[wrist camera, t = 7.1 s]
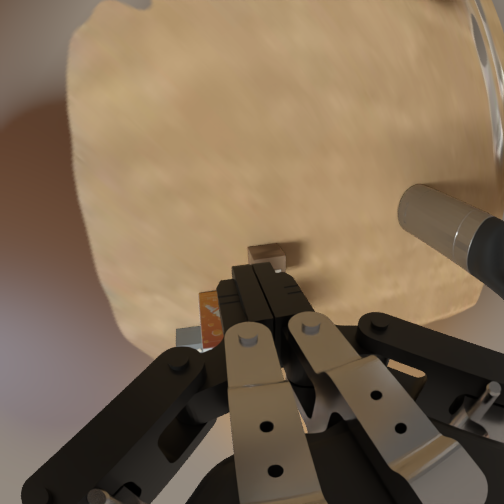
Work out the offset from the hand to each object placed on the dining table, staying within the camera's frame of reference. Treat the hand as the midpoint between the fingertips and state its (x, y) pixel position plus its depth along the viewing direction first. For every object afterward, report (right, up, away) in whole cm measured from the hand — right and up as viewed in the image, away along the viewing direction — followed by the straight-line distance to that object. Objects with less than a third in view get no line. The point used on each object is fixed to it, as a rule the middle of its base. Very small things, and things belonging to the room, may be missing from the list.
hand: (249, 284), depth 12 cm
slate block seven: (-10, -13, +37) cm, 40 cm away
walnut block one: (+2, 0, +33) cm, 33 cm away
